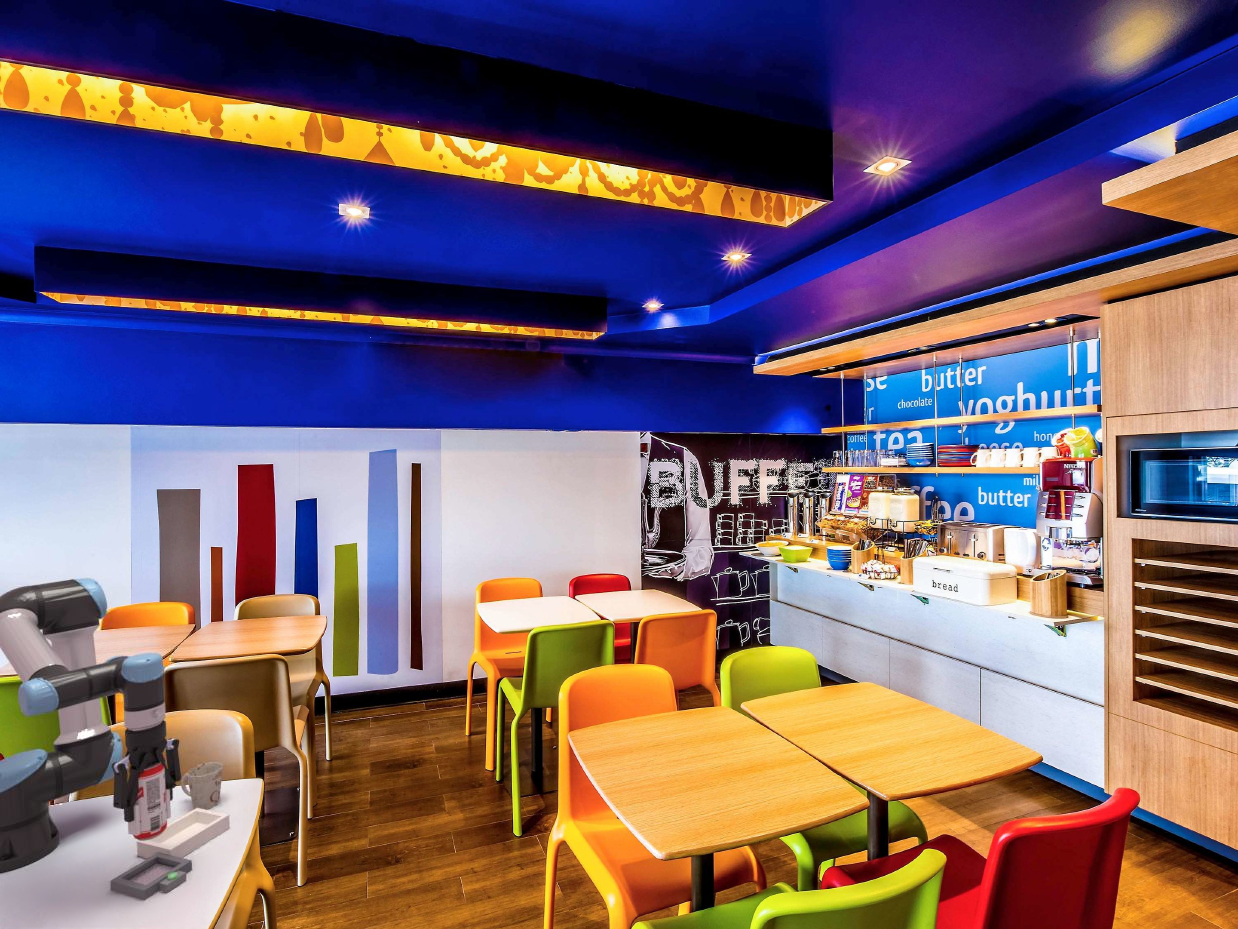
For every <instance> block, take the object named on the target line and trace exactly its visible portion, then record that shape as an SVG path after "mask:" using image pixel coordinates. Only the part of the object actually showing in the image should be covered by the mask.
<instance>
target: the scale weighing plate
mask: <svg viewBox="0 0 1238 929" xmlns="http://www.w3.org/2000/svg"><path fill="white" fill-rule="evenodd" d="M171 869H173V867H169V866H165V865H162V864H158V863H156V864H155V865H153V866H151V867H150V868H148V869H146V870H145V871H143V872H141V873H140V874H138V875H137V876H135V877H133V878H132V879H130V881H133V882H137V883H140V884H144V885H147V884H149V883H150V882H152V881H154V880H155V879H157V878H158V877H160V876H162V875H163V874H165V873H166V872H168V871H169V870H171Z"/></svg>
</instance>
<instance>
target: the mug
mask: <svg viewBox="0 0 1238 929" xmlns="http://www.w3.org/2000/svg"><path fill="white" fill-rule="evenodd" d="M223 769H224V764H223V762H222V763H221V762H220V761H210V762H205V763H202V764H198V765H196V766H194V767H192V768H190V769H189V770H188V771H187V772H186V773H185V774H183V776H182V777H181V780H180V781H181V782H180V786H181V787H180V788H181V790H182V791H183V793H184V794H185V795H187V796H188V797H190V798H191V802H192V803H191V804H192V808H193V810H194V809H196V808H200V809H205V810H210V809H212V808H214V807H216V806H217V805H219V803H220V798H221V788H222V781H223V780H222V779H223ZM186 781H187V783H188V788H189V789H188V788H187V785H186Z"/></svg>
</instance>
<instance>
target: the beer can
mask: <svg viewBox="0 0 1238 929" xmlns="http://www.w3.org/2000/svg"><path fill="white" fill-rule="evenodd" d="M137 769H139V768H137ZM135 770H136V769H135ZM144 770H145V771H144V773H142V774H140V776H139V779H138V782H139V791H138V795H137V799H136V803H135V804H137V805H139V814H140V834H139V835H137V836H136V835H132V836H133V837H134V839H136V840H137V841H139V840H140V841H145V840H150V839H153V838H156V837H157V836H159V835H161V834H162V833H163V832H164V830H165V829H166V828H167V824H168V819H167V810H166V788H165V768H164V766H163V765H162V764H161V762H160V763H155V764H151V765H149V766H148V767H146V769H144Z"/></svg>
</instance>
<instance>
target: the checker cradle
mask: <svg viewBox="0 0 1238 929" xmlns="http://www.w3.org/2000/svg"><path fill="white" fill-rule="evenodd" d="M192 862H193V861H192V860H191V859H188V858H185V857H183V858H180V857H176V856H172V855H167V854H163V853H159V852H158V853H156V854H155V855H153V856H151V857H150V858H145V860H143V861H141V862H140V863H138V864H136V865H135V866H133V867H131V868H129V869H127V870H126V871H124V872H123V873H121V874H120V875H118V876H116V877H114V878H112V879H111V880H110V881H109V882H110V883H109V884H110V885H109V886H110V888H109V889H110V892H115V893H118V894H121V895H125V896H128V897H131V898H135V899H138V900H141V901H146V900H148V899H149V898H151V897H153V896H154V895H156V894H157V893H159V892H161V893H166V894H169V892H171V891H172V890H174V889H176V888H177V887H179V886H180V885H182V884H183V883H184V882H186V881H187V874H188V873H189V872H191V871H193V863H192ZM156 863H158V864H162V865H165V866H169V867H173V869H171V870H169V871H168V872H166V873H165V874H163V875H162V876H160V877H158V878H157V879H155V880H154V881H152V882H150V883H149V884H147V885H144V884H140V883H137V882H133V881H130V879H132V878H133V877H135V876H137V875H138V874H140V873H141V872H143V871H145V870H146V869H148V868H150V867H151V866H153V865H155V864H156Z"/></svg>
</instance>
